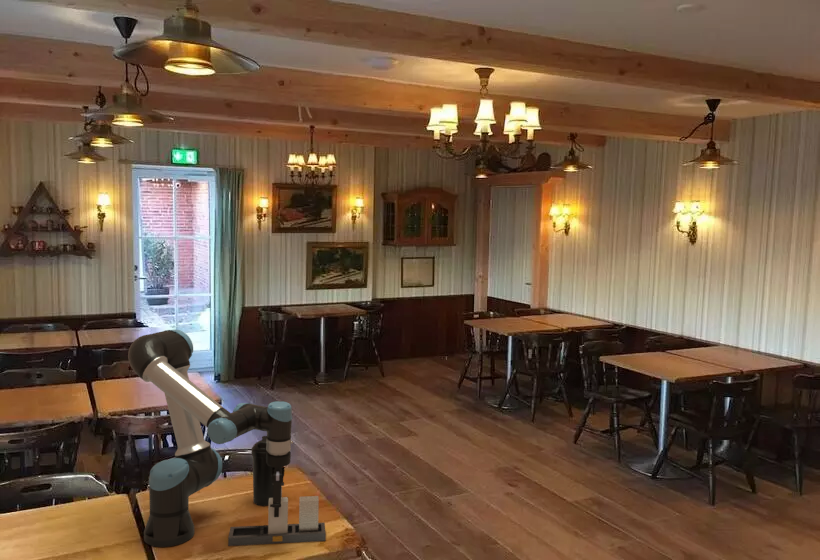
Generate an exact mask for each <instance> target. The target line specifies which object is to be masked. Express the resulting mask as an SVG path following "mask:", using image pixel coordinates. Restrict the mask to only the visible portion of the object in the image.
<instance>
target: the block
mask: <svg viewBox="0 0 820 560" xmlns="http://www.w3.org/2000/svg"><path fill="white" fill-rule="evenodd" d="M270 504H273V498H269V506H267V507H268V510H267V511H268V516H267V517H268V518H267V520H268V521H267V525H268V534H283V533H288V524H289V518H288V517H289V515H288V514H289V497H287V496H284V497H283V496H282V497H281V526H272V507H270Z"/></svg>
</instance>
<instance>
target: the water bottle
mask: <svg viewBox="0 0 820 560" xmlns="http://www.w3.org/2000/svg"><path fill="white" fill-rule="evenodd" d="M266 448H267V435H263V436H262V437H261V440H258V441H256V442H255V443H254V444H253V446H252V447H251V456H252V488H253V493H252V494H253V496H252V497H253V504H255V505H256V506H259V507H268V506H269V498H273V485H272V466H269V465H268V464H267V463H266V454H267V450H266Z"/></svg>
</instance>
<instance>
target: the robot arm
mask: <svg viewBox="0 0 820 560" xmlns="http://www.w3.org/2000/svg"><path fill="white" fill-rule="evenodd" d="M130 344H131V345H130V347H129V348H128V352H127V353H128V355H127V357H128V359H127V360H128V362H129V365H130V368H131V369H132V371H133V372H134V373H135V374H136V376H137V377H139V378H140V379H141V380H143V381H144V382H146V383H152V384H153V385H154V386H155V387H156V388H158V389H159V390H160V391H162V392H163V393H164V397H165V401H166V405H167V409H168V413H169V417H170V421H171V425H172V429H173V432H174V436H175V441H176V444H177V450H176V451H175V453H174V458H169V459H164V460H161V461H158V462H157V463H155V464H154V465H153V466H152V467H151V469H150V471H149V479H148V486H149V488H148V490H149V493H148V494H149V496H148V497H149V499H148V500H149V515H148V519H147V522H146V523H145V527H144V531H143V541H144V543H146V544H147V545H149V546H151V547H158V548H167V547H174V546H179V545H181V544H184V543H186V542H188V541H189V540H191V539H192V538H193V537H194V535H195V524H194V521H193V519H192V516H191V513H190V510H189V503H190V502H189V497H190V496H191V495H193V494H196V493H197V492H199V491H200V490H202V489H204V488H207V487H209V486H210V485H212V484H213V483H214V482H216V481H217V480H218V479H219V477H220V475H221V474H222V472H223V460H222V457H221V455H220V453H219V452H217V450H216V449H215V448H213V447H212V445H211V442H212V443H214V444H216V445H223V444H226V443H229V442H232V441H234V439H237V438H238V437H240V436H243V435H244V434H247V433H249V432H251V431H253V430H256V431H260V432H261V431H263V432H266V436H267V448H266V450H267V454H266V463H267V464H268V465H269V466H272V485H273V504H270V507H272V526H281V497H283V487H284V486H285V482H284V477H285V467H286V466H288V465H290V464H291V459H292V458H291V456H292V455H291V450H292V449H291V447H292V446H291V445H292V444H294V442H293V440H292V423H293V414H292V413H293V409H292V404H291V403H289V402H287V401H278V400H276V401H272V402H270V403H268V406H263V405H258V404H253V403H250V402H249V403H248V402H240V403H238V404H236V406H235V407H234V409H233V410H232V412H230V411H229V410H228V409H226V408H225V407H224V406H222V405H221V404H220V403H219V402H217V401H216V400H215V399H214V398H212V397H211V396H210V395H208V393H206V392H205V391H204V390H203V389H201V388H200V387H198V385H196V384H195V383H193V382H192V381H191V380H190V378H189V374H188V371H189V368H190V367H191V362H190V359H191V357H192V356H193V352H194V343H193V341H192V339H191V338H190V336H189V335H188V334H187V333H185V332H184V331H183V330H180V329H167V330H163V331H158V332H154V333H150V334H144V335H140V336H139V337H137V338H136V339H134V341H133V342H132V343H130ZM201 424H202V425H203V426H204V427H206V428H207V430H206V432H207V436H208V438H209V439H210V441H211V442H209V441H206V440H205V437H204V433H203V430H202V426H201Z"/></svg>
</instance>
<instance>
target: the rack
mask: <svg viewBox="0 0 820 560" xmlns="http://www.w3.org/2000/svg"><path fill="white" fill-rule="evenodd" d="M319 501H320V500H319V495H314V496H313V495H311V496H299V505H298V508H299V511H298V512H299V514H298V516H299V517H298V523H288V533H283V534H268V524H265V525H246V526H245V525H243V526H230V528H229V532H228V537H227V538H228V539H227V540H228V541H227V545H228V547H236V546H253V545H255V546H257V545H274V544H291V543H314V542H326V537H327V535H326V533H327V532H326V523H325V521H324V522H319V504H320V503H319Z"/></svg>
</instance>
